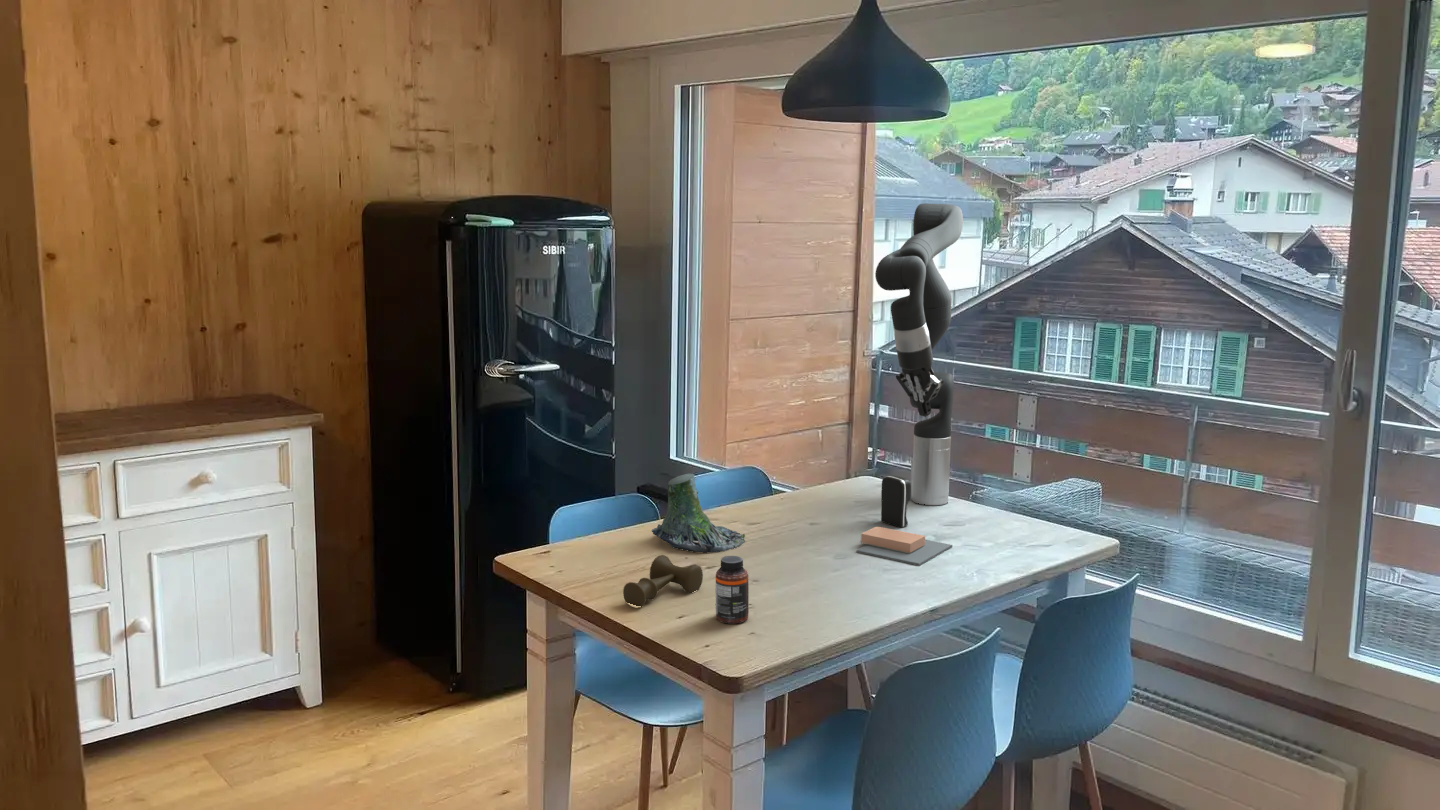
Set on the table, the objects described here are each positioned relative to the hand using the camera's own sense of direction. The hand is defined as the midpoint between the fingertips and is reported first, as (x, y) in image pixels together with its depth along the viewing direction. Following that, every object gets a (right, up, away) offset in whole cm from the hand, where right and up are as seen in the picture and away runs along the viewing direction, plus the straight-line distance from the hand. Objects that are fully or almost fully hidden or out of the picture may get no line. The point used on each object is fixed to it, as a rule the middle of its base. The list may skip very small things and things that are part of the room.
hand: (925, 414), depth 238 cm
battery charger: (-5, -26, +12) cm, 29 cm away
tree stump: (-51, -29, -3) cm, 59 cm away
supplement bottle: (-44, -37, -48) cm, 75 cm away
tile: (-13, -27, -3) cm, 30 cm away
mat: (-6, -29, -8) cm, 31 cm away
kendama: (-57, -34, -35) cm, 75 cm away
